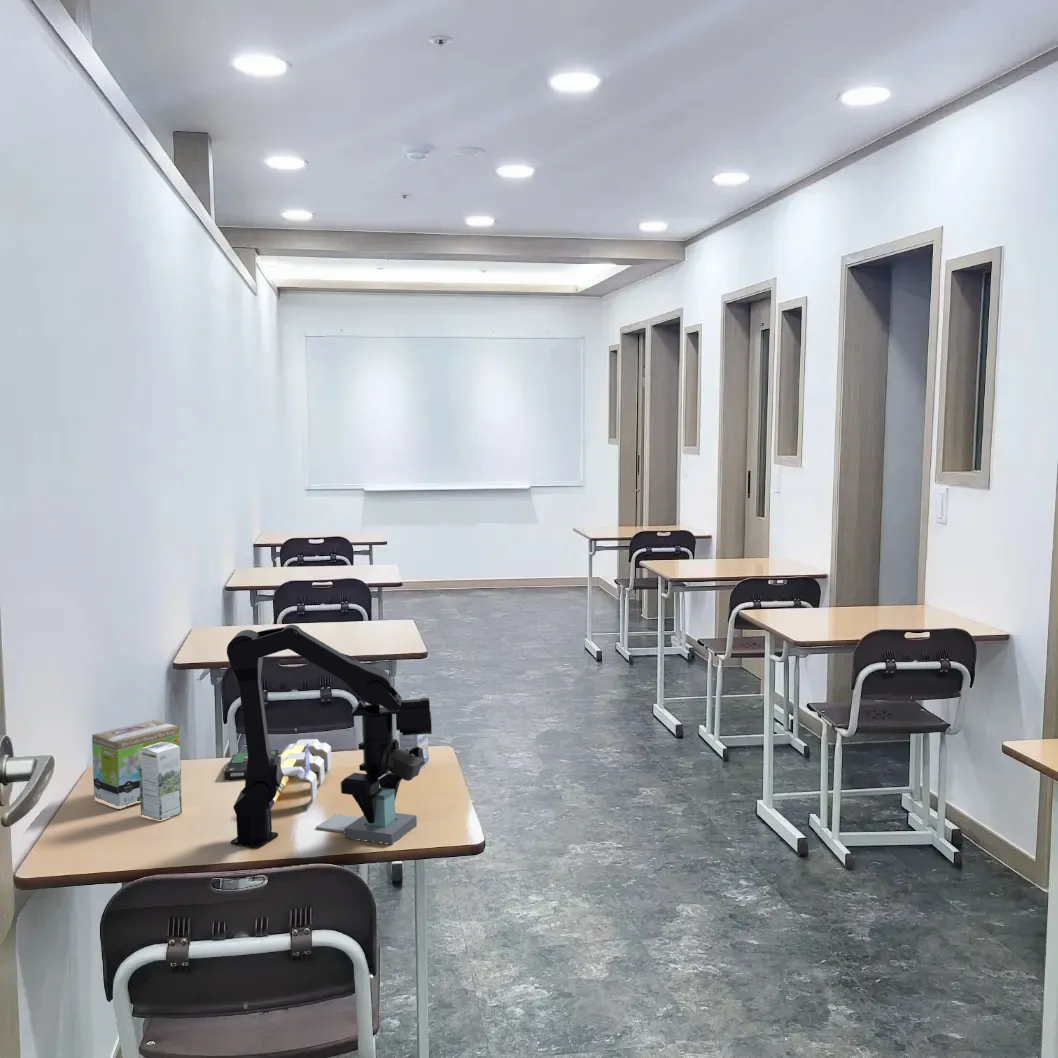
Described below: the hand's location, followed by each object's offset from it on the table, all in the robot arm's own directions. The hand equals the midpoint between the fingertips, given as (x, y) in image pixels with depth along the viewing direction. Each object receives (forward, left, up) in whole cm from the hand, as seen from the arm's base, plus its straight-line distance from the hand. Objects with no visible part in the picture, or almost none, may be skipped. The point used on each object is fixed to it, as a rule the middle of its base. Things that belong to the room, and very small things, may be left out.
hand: (380, 816), depth 196 cm
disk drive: (+25, +48, -4) cm, 54 cm away
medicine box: (+39, +13, -3) cm, 41 cm away
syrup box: (-6, +47, -3) cm, 47 cm away
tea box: (+2, +60, -3) cm, 60 cm away
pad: (+1, +9, -3) cm, 10 cm away
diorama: (+16, +29, -4) cm, 33 cm away
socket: (0, 0, -3) cm, 3 cm away
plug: (0, 0, -3) cm, 3 cm away
